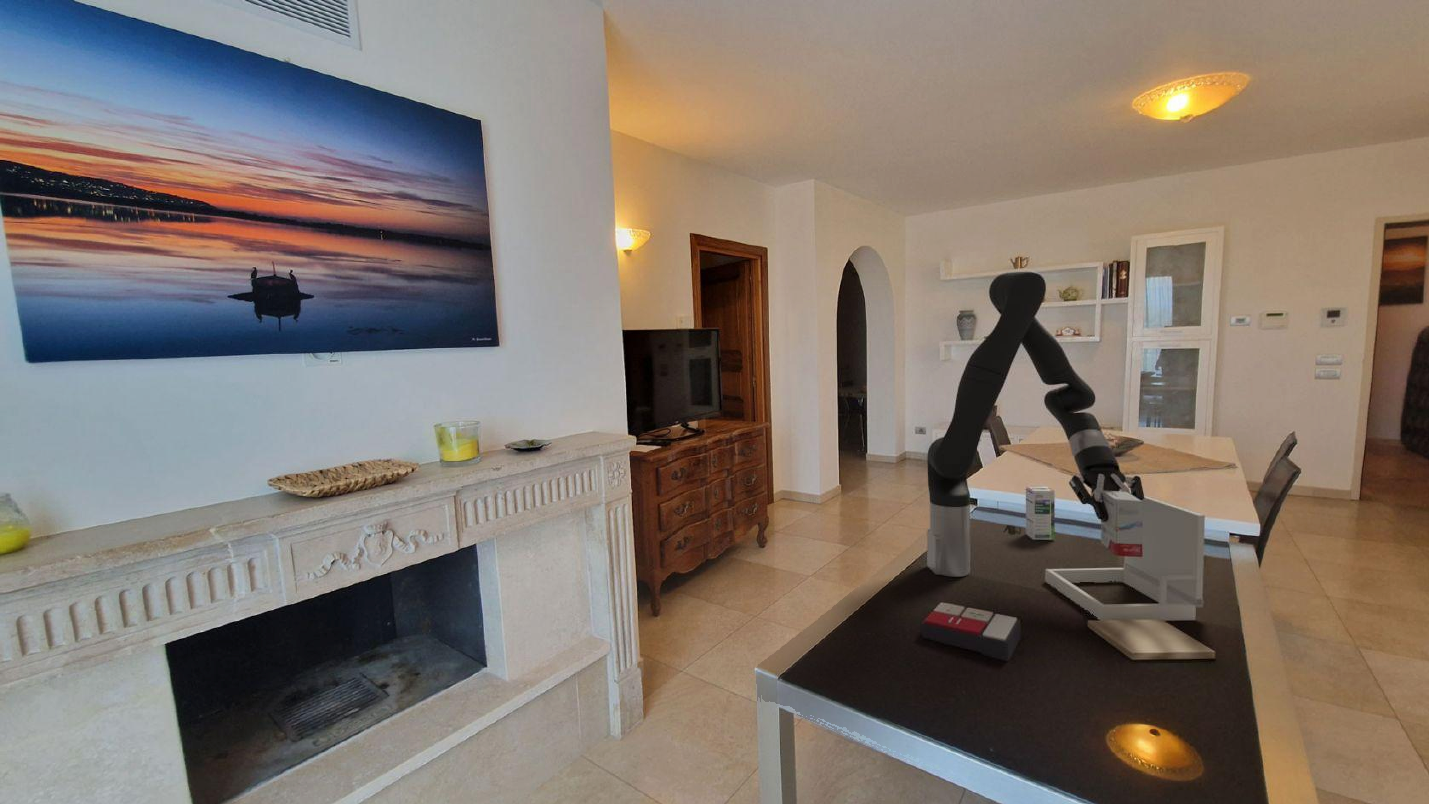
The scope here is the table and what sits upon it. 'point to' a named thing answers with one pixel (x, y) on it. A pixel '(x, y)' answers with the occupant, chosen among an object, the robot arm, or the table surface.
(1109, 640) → the oak board
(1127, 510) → the ink box
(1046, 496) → the syrup box
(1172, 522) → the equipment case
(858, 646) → the table surface
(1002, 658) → the grey red white block
